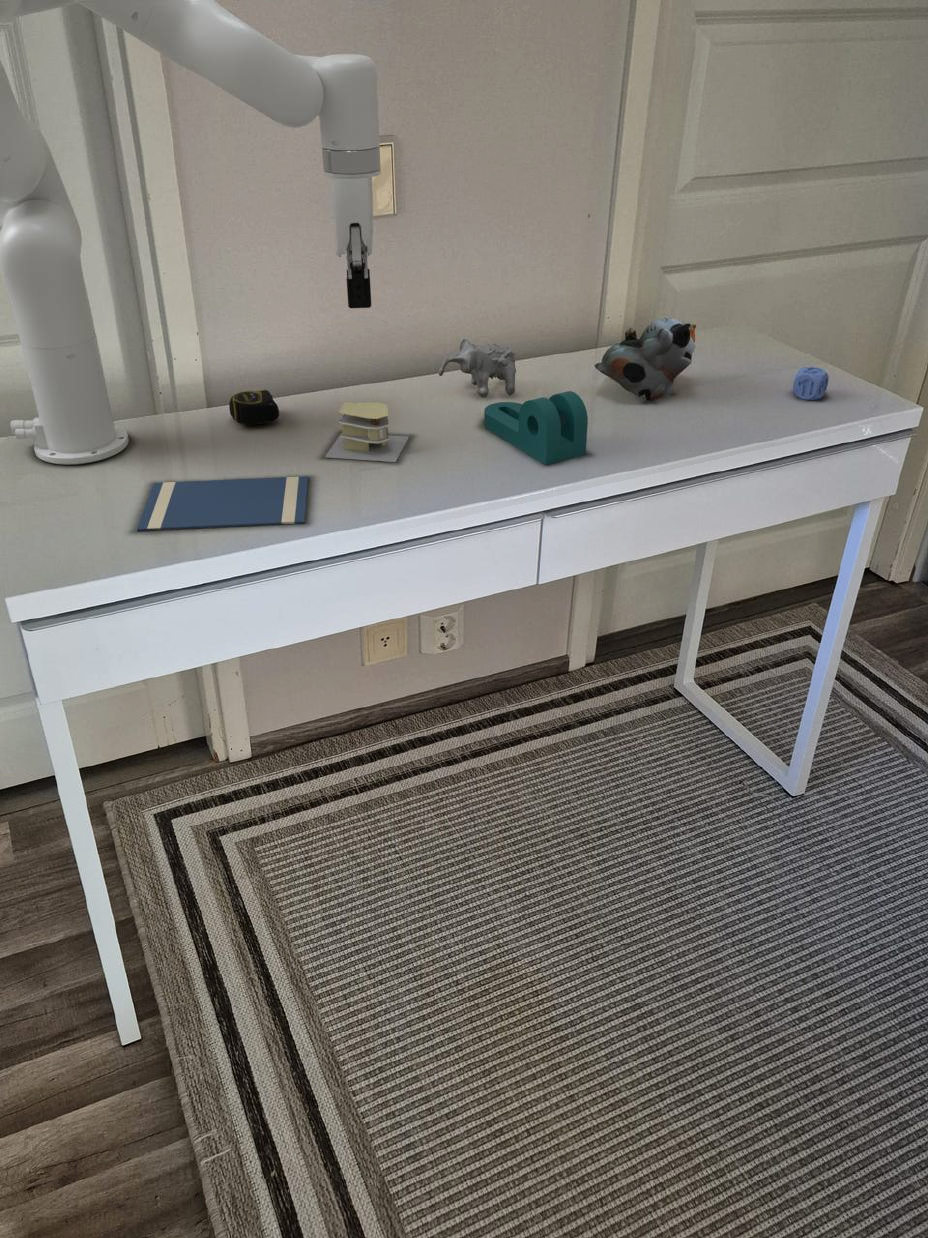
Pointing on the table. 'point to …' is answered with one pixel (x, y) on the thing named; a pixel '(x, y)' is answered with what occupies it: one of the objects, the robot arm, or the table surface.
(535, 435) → the bracket
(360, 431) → the stacked layers on plate
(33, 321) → the robot arm
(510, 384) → the gray elephant figurine
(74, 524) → the table surface
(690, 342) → the lucky cat figurine
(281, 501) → the cloth
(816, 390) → the decorative dice
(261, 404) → the tape measure
